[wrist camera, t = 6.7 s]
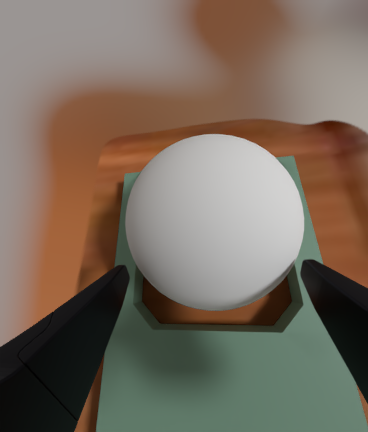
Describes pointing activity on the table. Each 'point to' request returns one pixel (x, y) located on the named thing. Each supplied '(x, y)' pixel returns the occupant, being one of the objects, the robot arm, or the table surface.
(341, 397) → the putting board
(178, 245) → the ball
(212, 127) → the table surface
